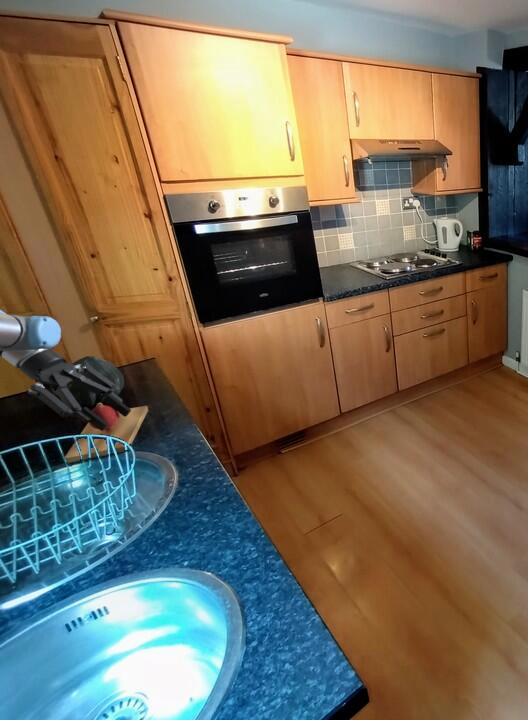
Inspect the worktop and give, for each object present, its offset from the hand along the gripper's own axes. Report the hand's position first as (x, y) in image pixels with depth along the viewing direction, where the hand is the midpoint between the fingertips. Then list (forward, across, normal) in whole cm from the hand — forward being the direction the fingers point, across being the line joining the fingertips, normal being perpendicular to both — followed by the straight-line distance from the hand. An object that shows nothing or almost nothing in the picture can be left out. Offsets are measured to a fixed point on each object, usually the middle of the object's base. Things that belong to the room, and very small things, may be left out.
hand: (116, 420), depth 116 cm
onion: (0, 0, -5) cm, 5 cm away
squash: (-13, -14, -20) cm, 27 cm away
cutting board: (+1, 0, -6) cm, 6 cm away
